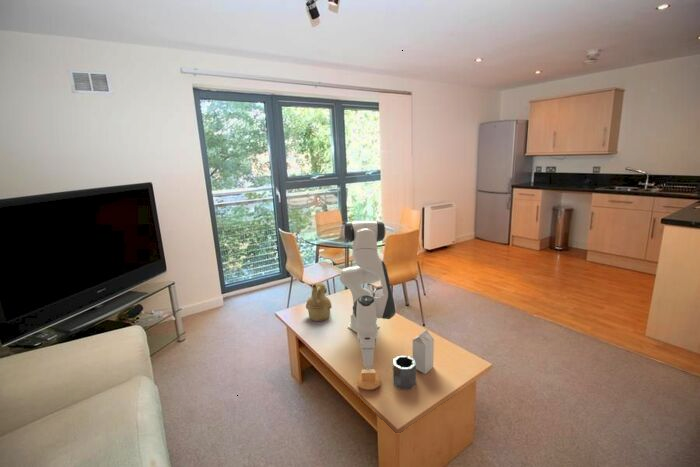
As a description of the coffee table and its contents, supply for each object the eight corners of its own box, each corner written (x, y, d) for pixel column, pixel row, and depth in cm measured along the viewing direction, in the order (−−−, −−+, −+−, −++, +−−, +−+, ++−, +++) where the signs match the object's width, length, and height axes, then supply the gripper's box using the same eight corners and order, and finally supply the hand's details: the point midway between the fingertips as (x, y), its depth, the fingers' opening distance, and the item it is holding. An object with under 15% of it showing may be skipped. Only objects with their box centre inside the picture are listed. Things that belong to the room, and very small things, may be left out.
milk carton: (412, 367, 152) (412, 332, 147) (420, 361, 157) (420, 326, 152) (425, 374, 147) (425, 337, 142) (433, 367, 152) (434, 331, 147)
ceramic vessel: (334, 310, 214) (332, 275, 208) (328, 325, 195) (326, 287, 190) (310, 309, 217) (308, 275, 211) (302, 324, 198) (299, 286, 192)
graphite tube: (392, 374, 148) (392, 355, 145) (413, 374, 147) (413, 355, 145) (394, 389, 138) (394, 369, 136) (416, 389, 137) (416, 369, 135)
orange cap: (357, 376, 147) (356, 363, 146) (380, 376, 147) (380, 363, 145) (356, 393, 137) (355, 379, 135) (381, 393, 136) (381, 379, 134)
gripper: (360, 322, 146) (361, 349, 149) (359, 346, 126) (360, 377, 129) (374, 321, 146) (375, 348, 149) (375, 346, 126) (376, 377, 129)
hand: (368, 362), depth 139 cm, fingers open, 8 cm apart
